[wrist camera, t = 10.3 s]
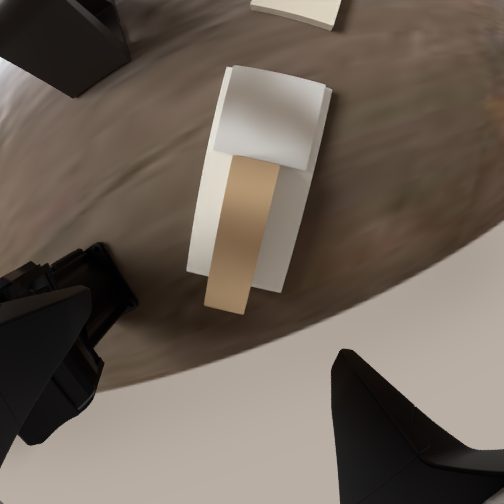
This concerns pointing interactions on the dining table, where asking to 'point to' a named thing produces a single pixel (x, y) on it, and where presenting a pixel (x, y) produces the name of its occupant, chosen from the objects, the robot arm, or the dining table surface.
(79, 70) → the phone stand
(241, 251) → the turner
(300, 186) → the tool rest
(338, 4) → the tile
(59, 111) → the dining table surface
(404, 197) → the dining table surface
